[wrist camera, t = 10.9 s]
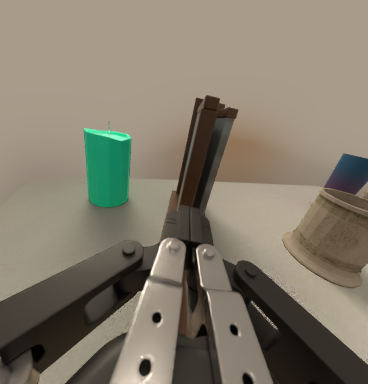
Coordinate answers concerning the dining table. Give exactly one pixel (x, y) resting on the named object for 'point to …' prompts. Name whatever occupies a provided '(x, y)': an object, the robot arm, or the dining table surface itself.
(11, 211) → the dining table surface
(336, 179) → the cup
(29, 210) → the dining table surface
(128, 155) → the candle
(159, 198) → the dining table surface
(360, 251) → the mug
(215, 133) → the screen frame
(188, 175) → the glass door
